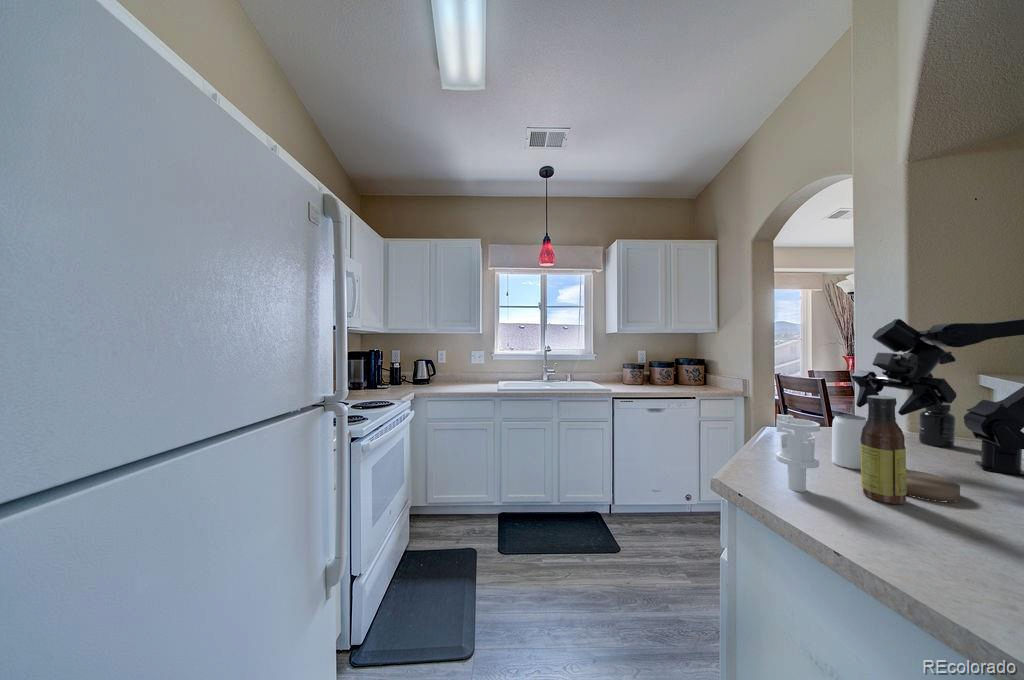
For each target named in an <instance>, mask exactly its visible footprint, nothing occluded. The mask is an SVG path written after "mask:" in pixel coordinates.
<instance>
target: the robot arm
mask: <svg viewBox="0 0 1024 680" xmlns="http://www.w3.org/2000/svg"><path fill="white" fill-rule="evenodd" d="M1023 335H1024V317H1023V318H1014V319H1013V318H1012V319H1007V320H1006V319H1005V320H1000V321H991V322H983V323H982V322H977V323H976V322H970V323H969V322H965V323H964V322H959V323H958V322H956V323H938V324H935V325H931V327H930V328H929V329H927V330H916V328H914V327H912V326H910V325H908V323H906V322H905V321H904V320H902V319H901V318H896V319H894V320H892V321H890V323H887V324H886V325H884V326H882V327H879V328H878V329H877V330H876V331H875V332H874V334H873V335H872V339H874V341H875V340H876V341H877V342H878V343H879V344H881V345H883V347H886V348H887V349H889V350H890V351H892V353H891V352H877V353H876V355H875V357H874V359H873V362H872V366H874V367H878V368H880V369H881V373H882V375H884V376H886V377H879V376H878V375H877V374H876V373H875V372H874V371H869V370H855V371H854V372H853V373H852V375H850V377H851V378H852V380H853V381H854V383H856V385H858V389H859V390H858V394H857V399H856V406H857V407H858V408H862V407H864V406H865V405H866V404H867V405H868V403H867V396H870V395H879V396H880V393H879V392H882V391H883V389H884V387H887V388H894V389H895V388H896V389H898V390H902V391H911V392H912V393H911V394H910V395H909V397H908V398H907V399H906V400H905V401H904V402H903V404H902V405H901V406H900V407H899V410H898V411H897V413H898V415H900V416H905V415H908V414H911V413H913V412H917V411H919V410H922V409H925V408H926V407H930V406H933V405H942V404H943V403H946V404H950V405H951V404H952V403H953V402H954V401H955V399H956V398H957V392H956V391H955V390H954V389H953V387H951V385H950V384H949V383H948V382H947V380H946V378H942V377H934V376H933V374H932V373H931V372H933V370H935V368H936V367H937V365H946V364H951V363H955V362H956V357H955V356H954V355H953V354H952V352H951V351H946V350H944V349H943V348H946V347H947V348H963V347H966V346H967V347H968V346H971V345H976V344H980V343H982V342H983V343H984V342H986V341H989V340H992V339H998V338H999V339H1000V338H1007V337H1015V336H1023ZM929 342H930V343H929ZM941 347H943V348H941ZM899 352H902V354H901V353H899ZM898 353H899V354H898ZM966 412H967V413H966V414H965V415H964V416H963V422H964V426H965V427H966V428H967V429H968V430H970V431H971V433H972V435H973V437H974V438H975V439H978V440H981V451H980V452H981V454H980V460H979V461H978V460H975V461H974V463H975V464H976V465H977V466H978V467H979V468H980V469H982V470H985V471H989V472H996V473H1003V474H1008V475H1009V474H1010V475H1016V476H1021V477H1024V470H1023V469H1022V458H1023V455H1022V454H1023V452H1022V451H1023V450H1024V432H1023V431H1022V430H1023V429H1024V386H1022V387H1020V388H1019V389H1018V390H1016V391H1014V392H1013V393H1011V394H1010V395H1008V396H1007V397H1005V398H1004V399H1001V400H998V401H991V400H989V399H988V400H987V399H982V400H981V401H978V402H977V404H975V405H974V406H973V407H970V408H967V409H966Z"/></svg>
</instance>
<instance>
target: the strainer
mask: <svg viewBox="0 0 1024 680" xmlns="http://www.w3.org/2000/svg"><path fill="white" fill-rule="evenodd" d="M820 430H821V424H820V423H819V422H817V421H813V420H808V419H802V418H794V415H792V414H779V413H778V414H777V413H776V432H778V433H781V434H780V450H779V451H777V452H775V453H776V454H775V460H776V461H778V462H779V463H781V464H783V465H786V466H787V483H786V485H787V488H788V489H789V490H791V491H795V492H798V493H799V492H801V493H802V492H806V491H807V469H817V468H819V467H820V460H819V458H817V457H816V456H815V446H816V445H815V441H816V439H815V438H816V437H815V436H814V435H812V433H814V432H819V431H820Z"/></svg>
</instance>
